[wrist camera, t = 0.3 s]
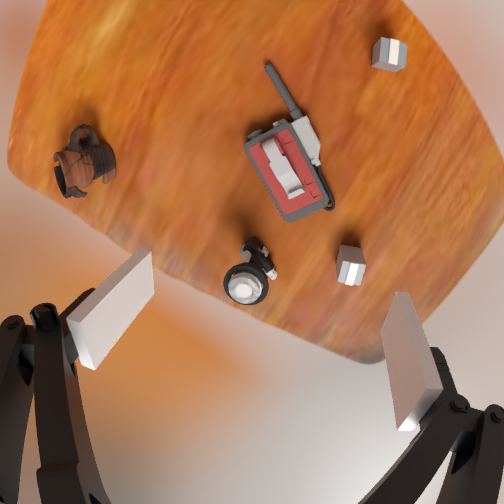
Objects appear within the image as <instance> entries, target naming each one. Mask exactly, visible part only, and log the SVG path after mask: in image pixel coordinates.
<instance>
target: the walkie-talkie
mask: <svg viewBox="0 0 504 504" xmlns="http://www.w3.org/2000/svg"><path fill="white" fill-rule="evenodd" d="M265 70H266V72H267V73H268V75H269V77H270V78H271V80H272V82H273V83H274V85H275V86H276V88H277V90H278V92H279V93H280V95H281V97H282V98H283V100H284V102H285V103H286V105H287V107H288V109H289V110H290V115H291V117H292V118H293V120H294V122H292V123H290V122H287V121H286V119H285V118H283V119H281V120H279V121H277V122H275V123H273V126H274V127H273V129H271V130H270V131H268V132H266V133H264V134H262V132H263V130H262V129H261V128H260V129H258V130H256V131H254V132H252V133H251V134H249V135H247V137H248V139H251V141H249V142H247V143H245V144H244V150H245V152H246V154H247V156H248V158H249V159H250V161H251V162H252V164H253V167H254V168H255V170H256V172H257V173H258V175H259V177H260V178H261V179H262V182H263V183H264V184H265V185H264V186H265V187H266V188H267V190H268V191H269V194H270V195H271V198H272V199H273V202H275V205H276V206H277V209H278V210H279V213H281V217H283V220H285V221H287V222H293V221H296V220H298V219H300V218H302V217H305V216H307V215H309V214H311V213H314V212H316V211H318V210H320V209H322V208H324V209H325V210H327V211H331V210H333V209H334V208H335V201H334V199H333V196H332V194H331V192H330V190H329V188H328V186H327V184H326V182H325V180H324V178H323V176H322V174H321V166H320V164H321V162H320V160H319V158H318V156H319V151H320V145H321V144H320V141H319V139H318V137H317V135H316V134H315V132H314V130H313V128H312V126H311V124H310V120H309V118H308V116H303V114H302V113H301V111H300V109H299V108H297V106H296V104H295V103H294V101H293V99H292V97H291V96H290V94H289V92H288V91H287V89H286V87H285V85H284V84H283V82H282V80H281V79H280V77H279V75H278V74H277V72H276V71H275V69H274V67H273V66H272V65H271V64H266V65H265ZM279 122H280V123H279ZM314 164H315V165H316V166H317V167H318V172H317V171H316V168H314ZM318 174H319V175H318ZM327 193H328V194H327ZM329 197H330V199H331V201H332V206H331V207H327V204H328V201H329Z"/></svg>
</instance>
